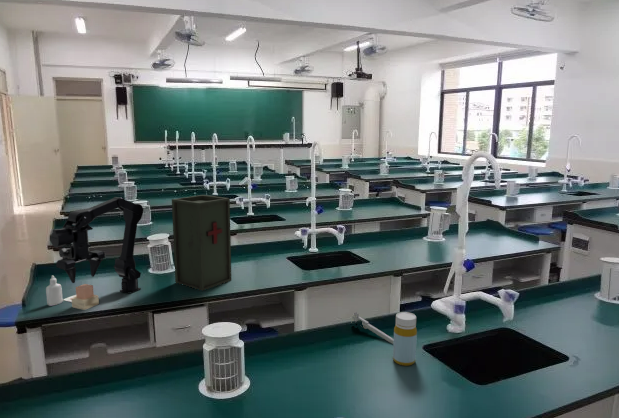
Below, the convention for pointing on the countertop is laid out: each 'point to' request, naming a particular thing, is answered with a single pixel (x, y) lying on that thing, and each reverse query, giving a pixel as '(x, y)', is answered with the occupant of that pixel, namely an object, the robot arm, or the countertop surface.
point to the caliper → (371, 328)
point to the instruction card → (69, 298)
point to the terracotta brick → (84, 291)
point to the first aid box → (202, 241)
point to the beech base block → (85, 302)
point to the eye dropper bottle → (54, 293)
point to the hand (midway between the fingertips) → (83, 279)
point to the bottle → (405, 339)
